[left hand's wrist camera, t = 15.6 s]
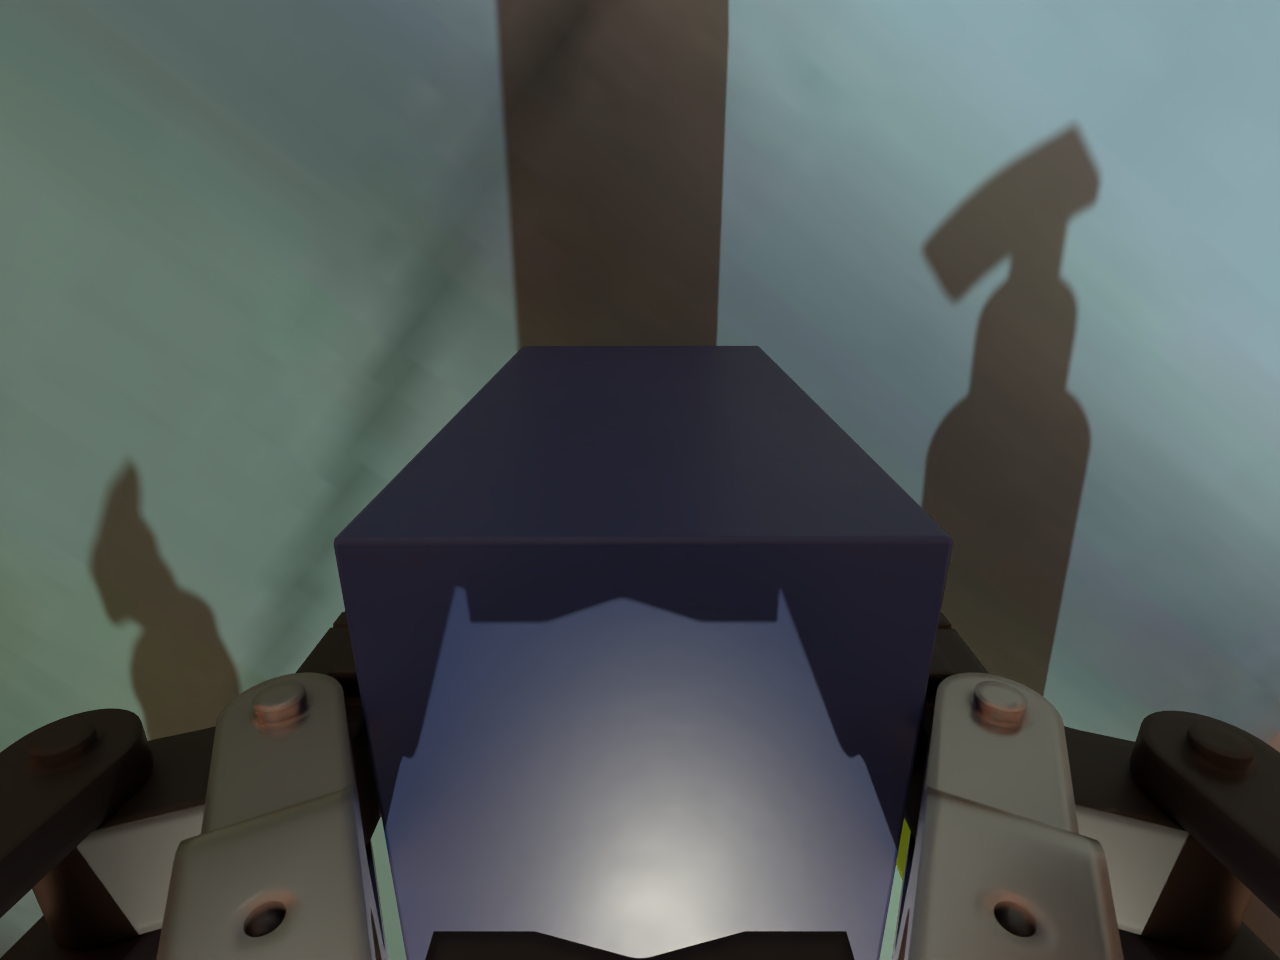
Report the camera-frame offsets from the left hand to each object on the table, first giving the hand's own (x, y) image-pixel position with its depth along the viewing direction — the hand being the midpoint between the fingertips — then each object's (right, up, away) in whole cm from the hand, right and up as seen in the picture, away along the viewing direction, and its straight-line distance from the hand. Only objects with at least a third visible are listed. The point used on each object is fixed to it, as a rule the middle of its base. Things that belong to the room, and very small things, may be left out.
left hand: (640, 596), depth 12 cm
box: (0, -8, +10) cm, 13 cm away
